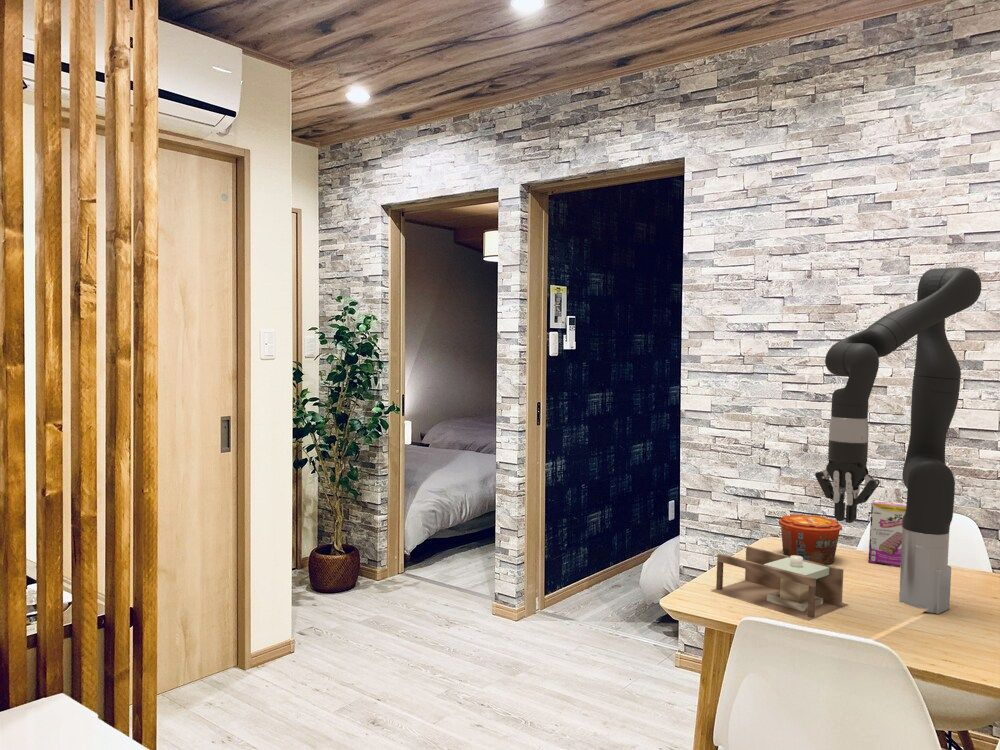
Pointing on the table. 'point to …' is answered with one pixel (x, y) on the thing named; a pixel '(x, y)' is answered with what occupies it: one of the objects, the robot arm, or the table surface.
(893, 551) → the candy bar box
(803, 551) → the food container
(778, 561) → the sliding cover
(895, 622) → the table surface
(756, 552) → the brown wooden frame
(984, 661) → the table surface
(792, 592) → the birch block
